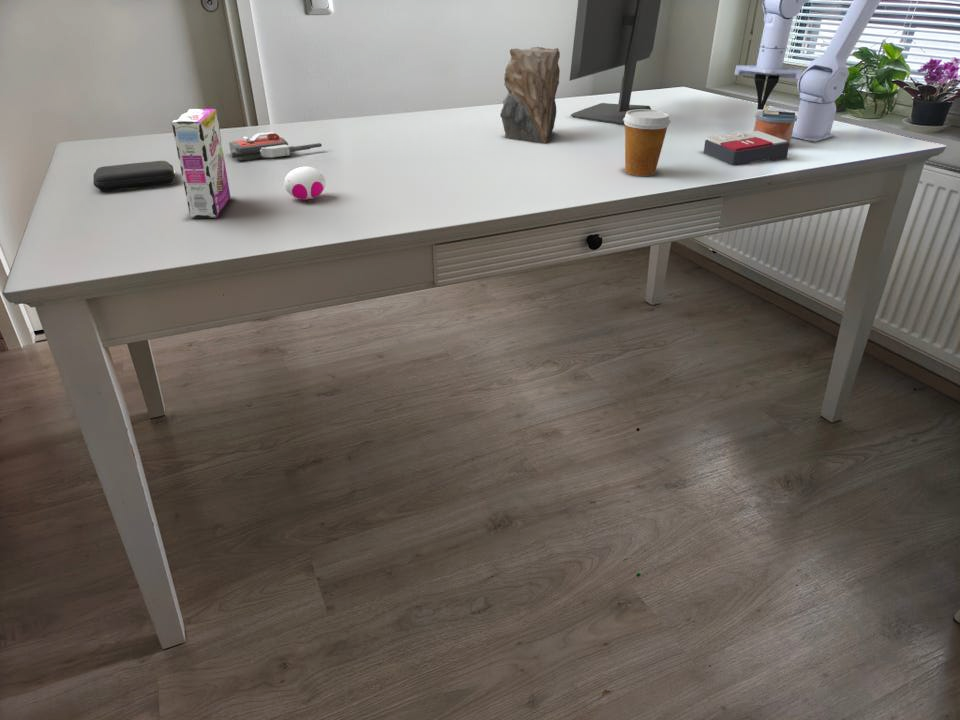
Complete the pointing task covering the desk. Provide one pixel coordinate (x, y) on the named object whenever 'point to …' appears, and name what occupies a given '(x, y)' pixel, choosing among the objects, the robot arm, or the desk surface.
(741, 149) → the dark grey flat box
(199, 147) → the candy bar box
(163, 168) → the carrying case
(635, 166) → the disposable coffee cup
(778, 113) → the lid slider
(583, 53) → the computer monitor
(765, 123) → the tumbler
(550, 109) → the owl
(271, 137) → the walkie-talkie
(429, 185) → the desk surface
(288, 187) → the stress ball
